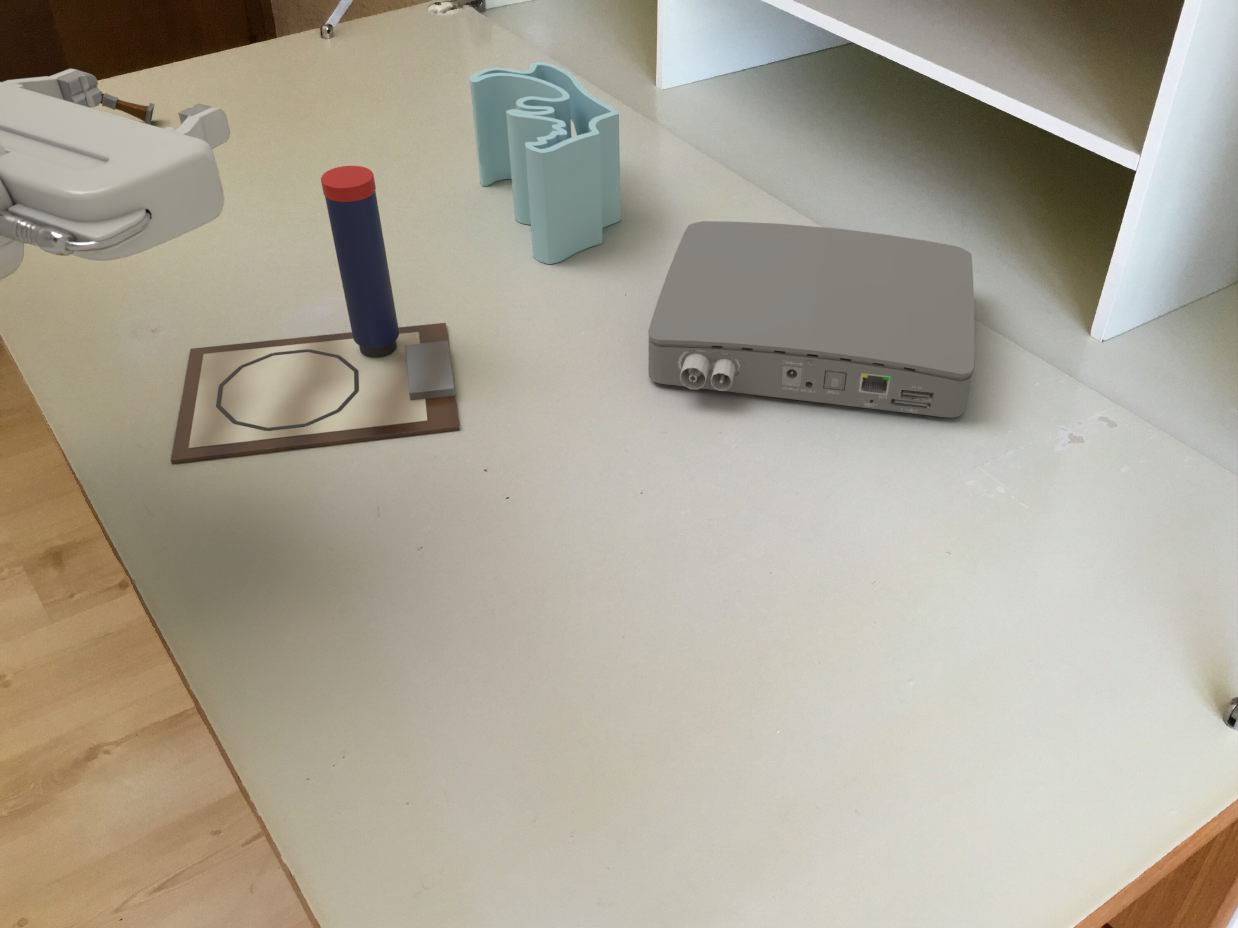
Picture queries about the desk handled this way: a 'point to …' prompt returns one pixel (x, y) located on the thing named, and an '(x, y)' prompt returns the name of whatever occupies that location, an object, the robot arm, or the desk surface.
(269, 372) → the clipboard
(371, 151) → the desk surface
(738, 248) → the electronic device
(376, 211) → the marker
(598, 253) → the desk surface
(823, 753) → the desk surface
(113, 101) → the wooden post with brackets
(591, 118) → the squiggly pen holder
